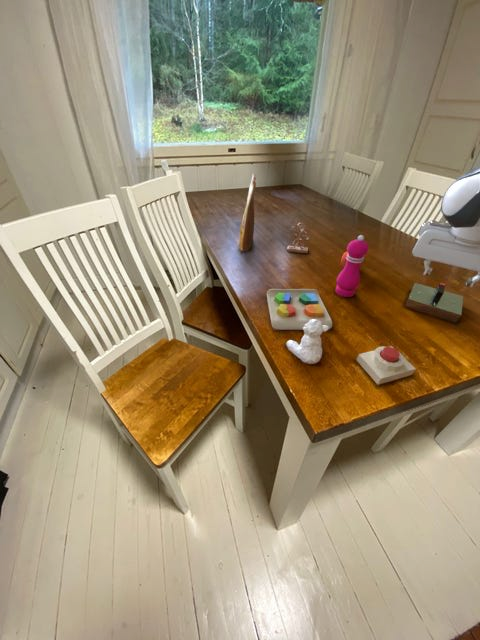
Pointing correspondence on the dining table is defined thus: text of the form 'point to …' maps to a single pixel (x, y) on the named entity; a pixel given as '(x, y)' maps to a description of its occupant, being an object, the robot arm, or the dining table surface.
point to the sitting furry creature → (309, 342)
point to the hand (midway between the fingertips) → (446, 280)
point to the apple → (344, 260)
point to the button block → (384, 366)
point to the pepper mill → (352, 268)
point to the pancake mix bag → (248, 219)
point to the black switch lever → (439, 292)
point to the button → (390, 354)
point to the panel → (435, 303)
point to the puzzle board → (296, 308)
